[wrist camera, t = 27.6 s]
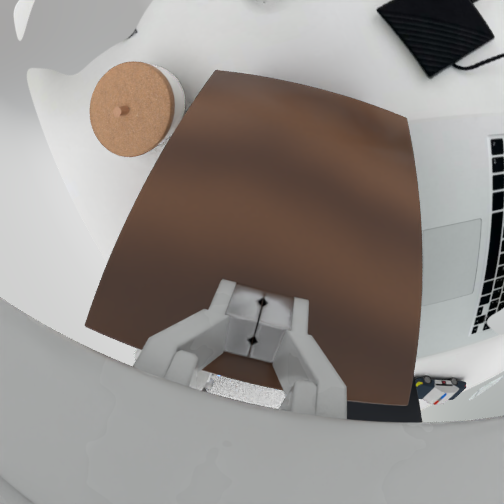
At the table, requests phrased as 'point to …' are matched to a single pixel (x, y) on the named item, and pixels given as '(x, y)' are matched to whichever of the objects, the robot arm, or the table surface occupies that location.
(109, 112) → the trinket box
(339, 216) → the chest lid
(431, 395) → the toy car
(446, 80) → the table surface
